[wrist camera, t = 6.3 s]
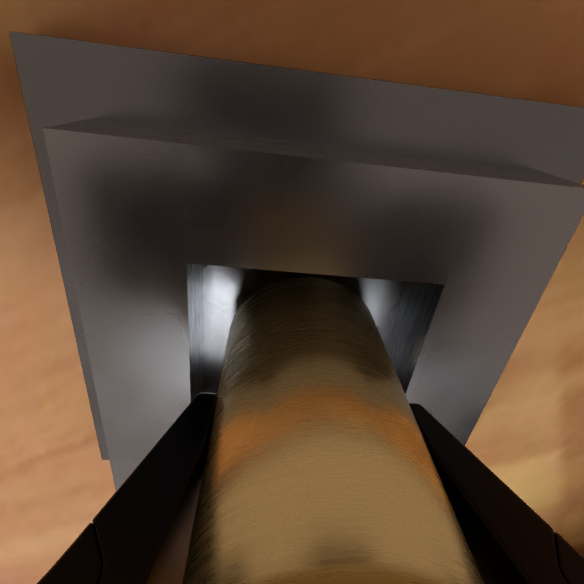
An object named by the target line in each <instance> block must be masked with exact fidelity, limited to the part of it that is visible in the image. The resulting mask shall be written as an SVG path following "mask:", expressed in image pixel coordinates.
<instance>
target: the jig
mask: <svg viewBox="0 0 584 584" xmlns="http://www.w3.org/2000/svg"><path fill="white" fill-rule="evenodd" d="M9 33H10V38H11V42H12V47H13V52H14V56H15V61H16V65H17V70H18V75H19V79H20V84H21V88H22V93H23V98H24V102H25V107H26V111H27V116H28V121H29V125H30V130H31V135H32V139H33V144H34V148H35V153H36V158H37V162H38V167H39V171H40V176H41V181H42V185H43V190H44V194H45V199H46V204H47V208H48V213H49V217H50V222H51V227H52V231H53V236H54V240H55V245H56V250H57V254H58V259H59V263H60V268H61V273H62V277H63V282H64V286H65V291H66V296H67V300H68V305H69V310H70V314H71V319H72V323H73V328H74V333H75V337H76V342H77V346H78V351H79V356H80V360H81V365H82V369H83V374H84V379H85V383H86V388H87V392H88V397H89V402H90V406H91V411H92V415H93V420H94V425H95V429H96V434H97V438H98V443H99V448H100V452H101V457H102V459H104V460H110V464H111V469H112V474H113V479H114V484H115V489H116V491H117V490H118V489H119V488H120V486H121V485H122V484H123V483H124V482H125V480H126V479H127V478H128V477H129V476H130V475H131V473H132V472H133V471H134V470H135V469H136V467H137V466H138V465H139V464H140V463H141V461H142V460H143V459H144V458H145V457H146V455H147V454H148V453H149V452H150V451H151V449H152V448H153V447H154V446H155V445H156V443H157V442H158V441H159V440H160V439H161V437H162V436H163V435H164V434H165V433H166V431H167V430H168V429H169V428H170V427H171V425H172V424H173V423H174V422H175V421H176V419H177V418H178V417H179V416H180V415H181V413H182V412H183V411H184V410H185V409H186V407H187V406H188V405H189V404H190V403H191V401H192V400H193V399H194V398H195V397H196V395H197V394H199V393H201V392H204V393H215V394H216V395H217V394H218V388H219V383H220V377H221V372H222V366H223V361H224V356H225V350H226V345H227V339H228V334H229V329H230V326H231V322H232V320H233V318H234V316H235V314H236V312H237V311H238V309H239V308H240V306H241V305H242V304H243V303H244V302H245V301H246V300H247V299H248V298H249V297H250V296H251V295H253V294H254V293H255V292H257V291H259V290H260V289H262V288H264V287H266V286H268V285H270V284H272V283H275V282H278V281H281V280H286V279H291V278H300V277H311V278H319V279H325V280H329V281H332V282H335V283H337V284H340V285H342V286H344V287H346V288H348V289H349V290H351V291H352V292H354V293H355V294H356V295H357V296H358V297H359V298H360V299H361V300H362V301H363V302H364V303H365V304H366V306H367V307H368V309H369V310H370V312H371V314H372V316H373V319H374V321H375V324H376V326H377V328H378V331H379V333H380V336H381V338H382V340H383V343H384V345H385V348H386V350H387V352H388V355H389V357H390V360H391V362H392V364H393V367H394V369H395V371H396V374H397V376H398V379H399V381H400V383H401V386H402V388H403V391H404V393H405V395H406V398H407V400H408V403H417V404H420V405H421V406H423V407H424V408H425V409H426V410H427V411H428V412H429V413H430V414H431V415H432V416H433V417H434V418H435V419H437V420H438V421H439V422H440V423H441V424H442V425H443V426H444V427H445V428H446V429H447V430H448V431H449V432H450V433H451V434H452V435H454V436H455V437H456V438H457V439H458V440H459V441H460V442H461V443H462V444H463V445H464V446H465V444H466V442H467V440H468V438H469V436H470V434H471V432H472V430H473V428H474V426H475V424H476V423H477V421H478V419H479V417H480V415H481V413H482V411H483V409H484V407H485V405H486V403H487V401H488V399H489V397H490V395H491V393H492V391H493V389H494V387H495V386H496V384H497V382H498V380H499V378H500V376H501V374H502V372H503V370H504V368H505V366H506V364H507V362H508V360H509V358H510V356H511V354H512V352H513V350H514V349H515V347H516V345H517V343H518V341H519V339H520V337H521V335H522V333H523V331H524V329H525V327H526V325H527V323H528V321H529V319H530V317H531V315H532V313H533V312H534V310H535V308H536V306H537V304H538V302H539V300H540V298H541V296H542V294H543V292H544V290H545V288H546V286H547V284H548V282H549V280H550V278H551V277H552V275H553V273H554V271H555V269H556V267H557V265H558V263H559V261H560V259H561V257H562V255H563V253H564V251H565V249H566V247H567V245H568V243H569V241H570V240H571V238H572V236H573V234H574V232H575V230H576V228H577V226H578V224H579V222H580V220H581V218H582V216H583V214H584V185H581V182H582V180H583V178H584V108H583V107H575V106H568V105H560V104H553V103H545V102H538V101H530V100H523V99H515V98H508V97H500V96H493V95H485V94H478V93H470V92H463V91H455V90H448V89H440V88H433V87H425V86H418V85H410V84H402V83H395V82H387V81H380V80H372V79H365V78H357V77H350V76H342V75H335V74H327V73H320V72H312V71H305V70H297V69H290V68H282V67H275V66H267V65H260V64H252V63H245V62H237V61H229V60H222V59H214V58H207V57H199V56H192V55H184V54H177V53H169V52H162V51H154V50H147V49H139V48H132V47H124V46H117V45H109V44H102V43H94V42H87V41H79V40H71V39H64V38H56V37H49V36H41V35H34V34H26V33H19V32H11V31H9Z"/></svg>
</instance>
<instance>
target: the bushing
mask: <svg viewBox="0 0 584 584" xmlns="http://www.w3.org/2000/svg"><path fill="white" fill-rule="evenodd" d="M182 584H484V582H483V579H482V577H481V575H480V572H479V570H478V567H477V565H476V563H475V560H474V558H473V555H472V553H471V551H470V548H469V546H468V544H467V541H466V539H465V536H464V534H463V532H462V529H461V527H460V524H459V522H458V520H457V517H456V515H455V512H454V510H453V508H452V505H451V503H450V501H449V498H448V496H447V493H446V491H445V489H444V486H443V484H442V481H441V479H440V477H439V474H438V472H437V469H436V467H435V465H434V462H433V460H432V457H431V455H430V453H429V450H428V448H427V446H426V443H425V441H424V438H423V436H422V434H421V431H420V429H419V426H418V424H417V422H416V419H415V417H414V414H413V412H412V410H411V407H410V405H409V403H408V400H407V398H406V395H405V393H404V391H403V388H402V386H401V383H400V381H399V379H398V376H397V374H396V371H395V369H394V367H393V364H392V362H391V360H390V357H389V355H388V352H387V350H386V348H385V345H384V343H383V340H382V338H381V336H380V333H379V331H378V328H377V326H376V324H375V321H374V319H373V316H372V314H371V312H370V310H369V309H368V307H367V306H366V304H365V303H364V302H363V301H362V300H361V299H360V298H359V297H358V296H357V295H356V294H355V293H354V292H352V291H351V290H349V289H348V288H346V287H344V286H342V285H340V284H337V283H335V282H332V281H329V280H325V279H319V278H311V277H300V278H291V279H286V280H281V281H278V282H275V283H272V284H270V285H268V286H266V287H264V288H262V289H260V290H259V291H257V292H255V293H254V294H253V295H251V296H250V297H249V298H248V299H247V300H246V301H245V302H244V303H243V304H242V305H241V306H240V308H239V309H238V311H237V312H236V314H235V316H234V318H233V320H232V322H231V326H230V329H229V334H228V339H227V345H226V350H225V356H224V361H223V366H222V372H221V377H220V383H219V388H218V394H217V399H216V405H215V410H214V415H213V421H212V426H211V432H210V437H209V442H208V448H207V453H206V458H205V464H204V469H203V475H202V480H201V485H200V491H199V496H198V502H197V507H196V513H195V518H194V523H193V529H192V534H191V540H190V545H189V550H188V556H187V561H186V567H185V572H184V577H183V583H182Z"/></svg>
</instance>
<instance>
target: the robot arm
mask: <svg viewBox="0 0 584 584" xmlns="http://www.w3.org/2000/svg"><path fill="white" fill-rule="evenodd" d="M216 399H217V395H216V394H215V393H204V392H201V393H199V394H197V395H196V397H195V398H194V399H193V400H192V401H191V403H190V404H189V405H188V406H187V407H186V409H185V410H184V411H183V412H182V413H181V415H180V416H179V417H178V418H177V419H176V421H175V422H174V423H173V424H172V425H171V427H170V428H169V429H168V430H167V431H166V433H165V434H164V435H163V436H162V437H161V439H160V440H159V441H158V442H157V443H156V445H155V446H154V447H153V448H152V449H151V451H150V452H149V453H148V454H147V455H146V457H145V458H144V459H143V460H142V461H141V463H140V464H139V465H138V466H137V467H136V469H135V470H134V471H133V472H132V473H131V475H130V476H129V477H128V478H127V479H126V480H125V482H124V483H123V484H122V485H121V486H120V488H119V489H118V490H117V491H116V492H115V494H114V495H113V496H112V497H111V498H110V500H109V501H108V502H107V503H106V504H105V506H104V507H103V508H102V509H101V510H100V512H99V513H98V514H97V515H96V516H95V518H94V519H93V523H90V524H89V525H88V526H87V527H86V528H85V529H84V531H83V532H82V533H81V534H80V535H79V537H78V538H77V539H76V540H75V541H74V543H73V544H72V545H71V546H70V547H69V548H68V549H67V551H66V552H65V553H64V554H63V555H62V556H61V557H60V559H59V560H58V561H57V562H56V563H55V564H54V565H53V567H52V568H51V569H50V570H49V571H48V572H47V573H46V574H45V576H44V577H43V578H42V579H41V580H40V581H39V582H38V583H37V584H182V583H183V577H184V572H185V567H186V561H187V556H188V550H189V545H190V540H191V534H192V529H193V523H194V518H195V513H196V507H197V502H198V496H199V491H200V485H201V480H202V475H203V469H204V464H205V458H206V453H207V448H208V442H209V437H210V432H211V426H212V421H213V415H214V410H215V405H216ZM409 405H410V407H411V410H412V412H413V414H414V417H415V419H416V422H417V424H418V426H419V429H420V431H421V434H422V436H423V438H424V441H425V443H426V446H427V448H428V450H429V453H430V455H431V457H432V460H433V462H434V465H435V467H436V469H437V472H438V474H439V477H440V479H441V481H442V484H443V486H444V489H445V491H446V493H447V496H448V498H449V501H450V503H451V505H452V508H453V510H454V512H455V515H456V517H457V520H458V522H459V524H460V527H461V529H462V532H463V534H464V536H465V539H466V541H467V544H468V546H469V548H470V551H471V553H472V555H473V558H474V560H475V563H476V565H477V567H478V570H479V572H480V575H481V577H482V579H483V582H484V584H584V557H583V556H582V555H580V554H579V553H578V552H577V551H576V550H575V549H574V548H573V547H572V546H571V545H570V544H569V543H568V542H566V541H565V540H564V539H563V538H562V537H561V536H560V535H559V534H558V533H556V532H554V531H553V529H552V528H551V527H550V526H549V525H548V524H547V523H546V522H545V521H544V520H543V519H542V518H541V517H540V516H539V515H538V514H536V513H535V512H534V511H533V510H532V509H531V508H530V507H529V506H528V505H527V504H526V503H525V502H524V501H523V500H522V499H521V498H519V497H518V496H517V495H516V494H515V493H514V492H513V491H512V490H511V489H510V488H509V487H508V486H507V485H506V484H505V483H504V482H502V481H501V480H500V479H499V478H498V477H497V476H496V475H495V474H494V473H493V472H492V471H491V470H490V469H489V468H488V467H486V466H485V465H484V464H483V463H482V462H481V461H480V460H479V459H478V458H477V457H476V456H475V455H474V454H473V453H472V452H471V451H469V450H468V449H467V448H466V447H465V446H464V445H463V444H462V443H461V442H460V441H459V440H458V439H457V438H456V437H455V436H454V435H452V434H451V433H450V432H449V431H448V430H447V429H446V428H445V427H444V426H443V425H442V424H441V423H440V422H439V421H438V420H437V419H435V418H434V417H433V416H432V415H431V414H430V413H429V412H428V411H427V410H426V409H425V408H424V407H423V406H421V405H420V404H417V403H409Z"/></svg>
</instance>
